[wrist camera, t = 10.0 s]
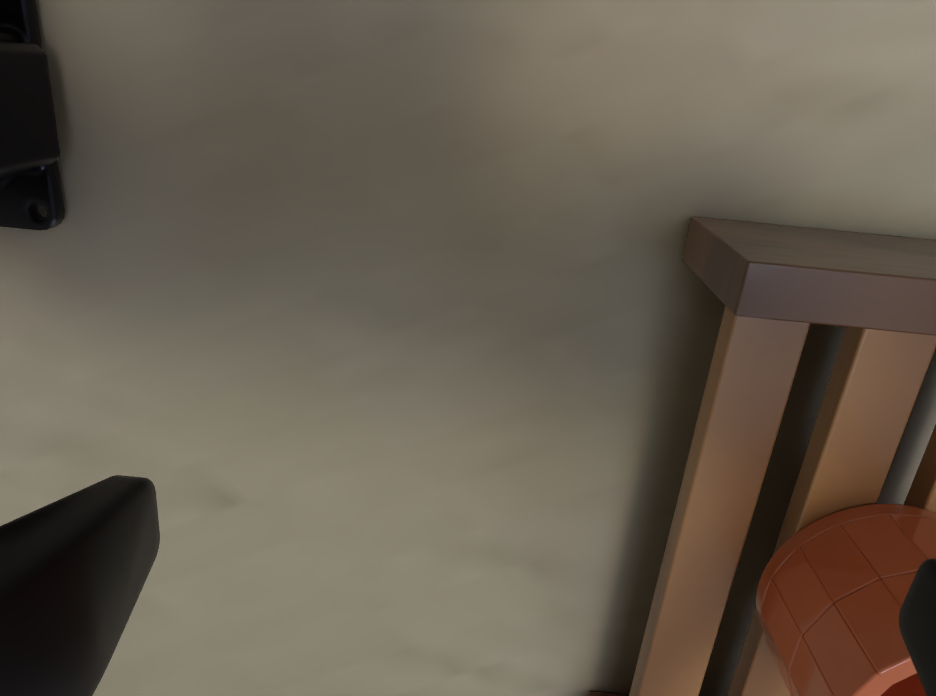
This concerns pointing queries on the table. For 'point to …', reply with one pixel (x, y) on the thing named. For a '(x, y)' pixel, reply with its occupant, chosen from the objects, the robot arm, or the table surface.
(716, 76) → the table surface
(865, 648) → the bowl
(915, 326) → the rack
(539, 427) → the table surface
